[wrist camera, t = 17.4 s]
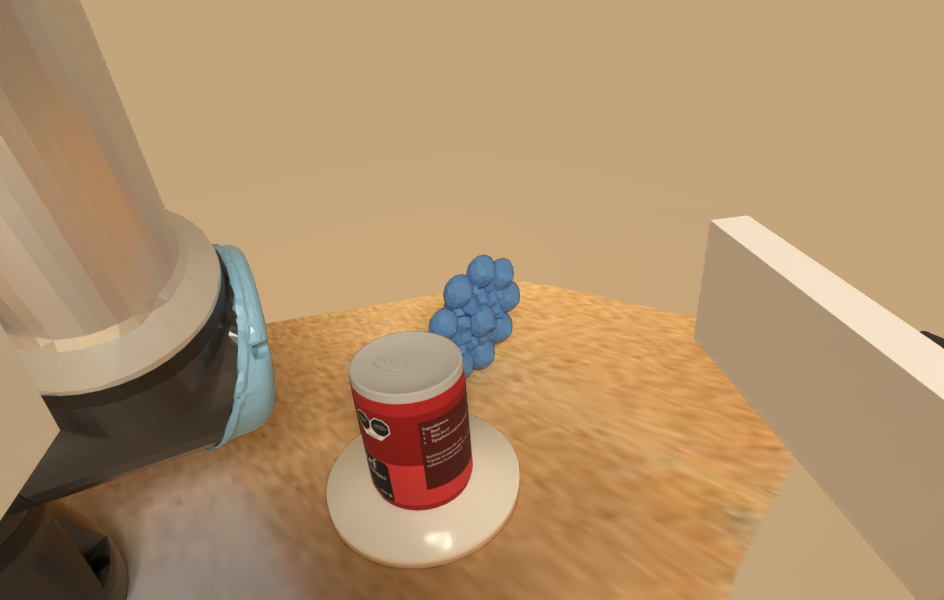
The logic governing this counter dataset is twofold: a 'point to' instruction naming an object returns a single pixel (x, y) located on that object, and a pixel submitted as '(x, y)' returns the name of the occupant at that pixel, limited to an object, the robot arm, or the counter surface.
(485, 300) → the grapes
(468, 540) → the plate
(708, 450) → the counter surface
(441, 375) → the canned food
